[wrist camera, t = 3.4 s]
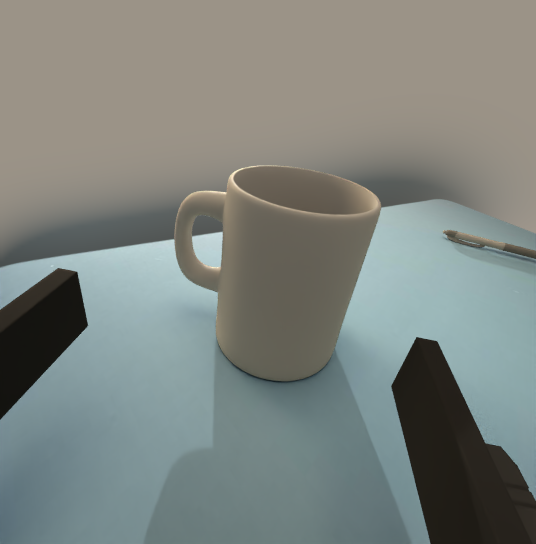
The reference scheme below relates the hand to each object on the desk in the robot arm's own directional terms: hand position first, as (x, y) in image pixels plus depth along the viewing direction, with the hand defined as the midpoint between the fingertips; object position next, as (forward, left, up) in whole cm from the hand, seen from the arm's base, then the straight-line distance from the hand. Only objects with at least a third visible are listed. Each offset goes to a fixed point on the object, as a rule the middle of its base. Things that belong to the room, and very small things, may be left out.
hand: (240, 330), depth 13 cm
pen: (+5, +44, -7) cm, 45 cm away
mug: (-5, +7, -7) cm, 11 cm away
